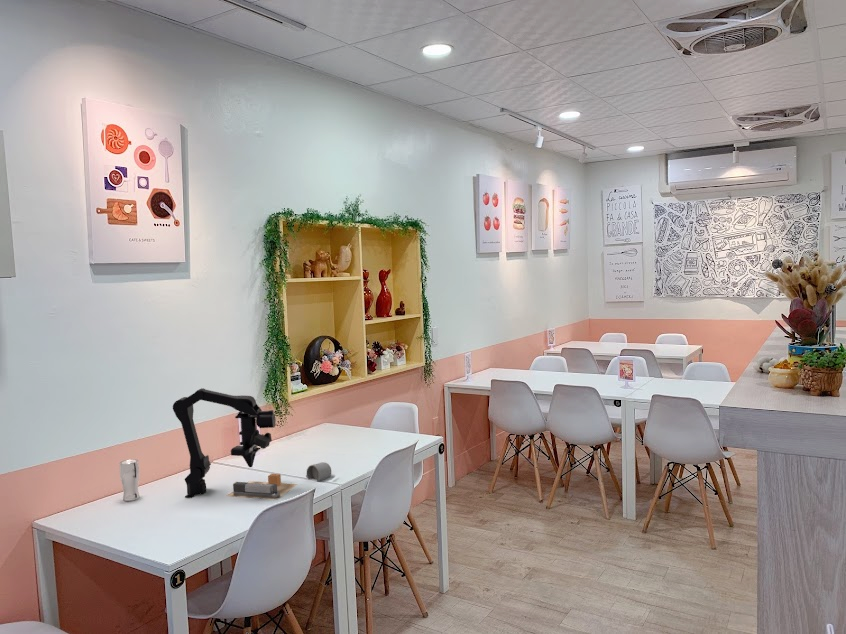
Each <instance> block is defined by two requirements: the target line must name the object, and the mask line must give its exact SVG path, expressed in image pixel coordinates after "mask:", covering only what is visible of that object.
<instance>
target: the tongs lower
mask: <svg viewBox="0 0 846 634" xmlns="http://www.w3.org/2000/svg"><path fill="white" fill-rule="evenodd" d="M232 492H233V491H232ZM233 493H234V495H236V496H251V497H265V498H272V499H271V500H274V499H276V498H279V497H280V492H277V484H273V492H272V493H258V492H238V491H234V492H233ZM280 498H281V497H280ZM280 498H279V499H280Z"/></svg>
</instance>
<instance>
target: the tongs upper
mask: <svg viewBox="0 0 846 634" xmlns="http://www.w3.org/2000/svg"><path fill="white" fill-rule="evenodd" d="M248 482H249V481H247V482H245V481H235V482H234V483H233V484H232V487H233V488H232V490H233V491H238V492H258V493H272V492H273V484H259V483H248ZM233 491H232V492H233Z"/></svg>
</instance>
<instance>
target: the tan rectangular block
mask: <svg viewBox="0 0 846 634" xmlns="http://www.w3.org/2000/svg"><path fill="white" fill-rule="evenodd" d="M281 477H282V475H281V473H271V474H269V475H268V476H267V479H268V481H267V482H268V484H277V486H278V485H280V484H281V483H282V479H281Z"/></svg>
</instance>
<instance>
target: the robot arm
mask: <svg viewBox="0 0 846 634" xmlns="http://www.w3.org/2000/svg"><path fill="white" fill-rule="evenodd" d="M199 401H205V402H209V403H213V404H218V405H223V406H227V407H231V408H233V409H234V410H235V411H238V413H237V415H235V416H234V418H235V419H240V431H239V432H238V433H239V435H240V436H241V441H240V442H239V445H236V446H234V447H232V448H231V449H230V456H237V457H239V456H240V457H242V458H243V459H244V461H245V463H246V464H247V466H248V468H253V465H254V461H255V457H256V455H257V452H258V451H260V449H266V448H267V447H269V446H270V443H271V442H272V434H271V433H270V432H266V433H265V434H263V433H262V434H261V433H260V430H259V429H268V428H269V429H270V428H271V429H273V428H275V427H276V422H277V421H276V419H277V418H276V416H275V413H274V410H273V409H272V410H271V409H270V410H262V408H261V407H260V405H258V403H257V400H256V399H255V397H254V396H251V395H233V394H232V395H231V394H227V393H224V392H223V393H222V392H218V391H214V390H209V389H206V388H202V387H201V388H199V389H198V390H196V391H195V392H193V393H192V394H191V395H189V396H183V397H181V398H179V399H178V400H176V401H174V403H173V405H172V411H173V412H174V415H175V417H176V418H177V419H178V421H179V423H180V424H181V426H182V431H183V435H184V439H185V442H186V445H187V446H186V447H187V449H188V454H189V457H190V458H189V473H188V475H187V476H186V477H185V478H184V482H185V484H186V495H185V496H184V498H187V499H188V498H189V499H193V498H194V497H195V496H198V495H205V494H206V493H207V483H206V480H205V479H204V478H205V477H206V474H208V472H209V471H210V469H211V465H212V463H211V462H210V456H209V455H208V454H207V455H205V454H204V453H203V451H202V448H201V443H200V440H199V437H198V433H197V428H196V425H195V422H194V412H195V411H194V404H196V403H198V402H199ZM257 427H259V429H257Z"/></svg>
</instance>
